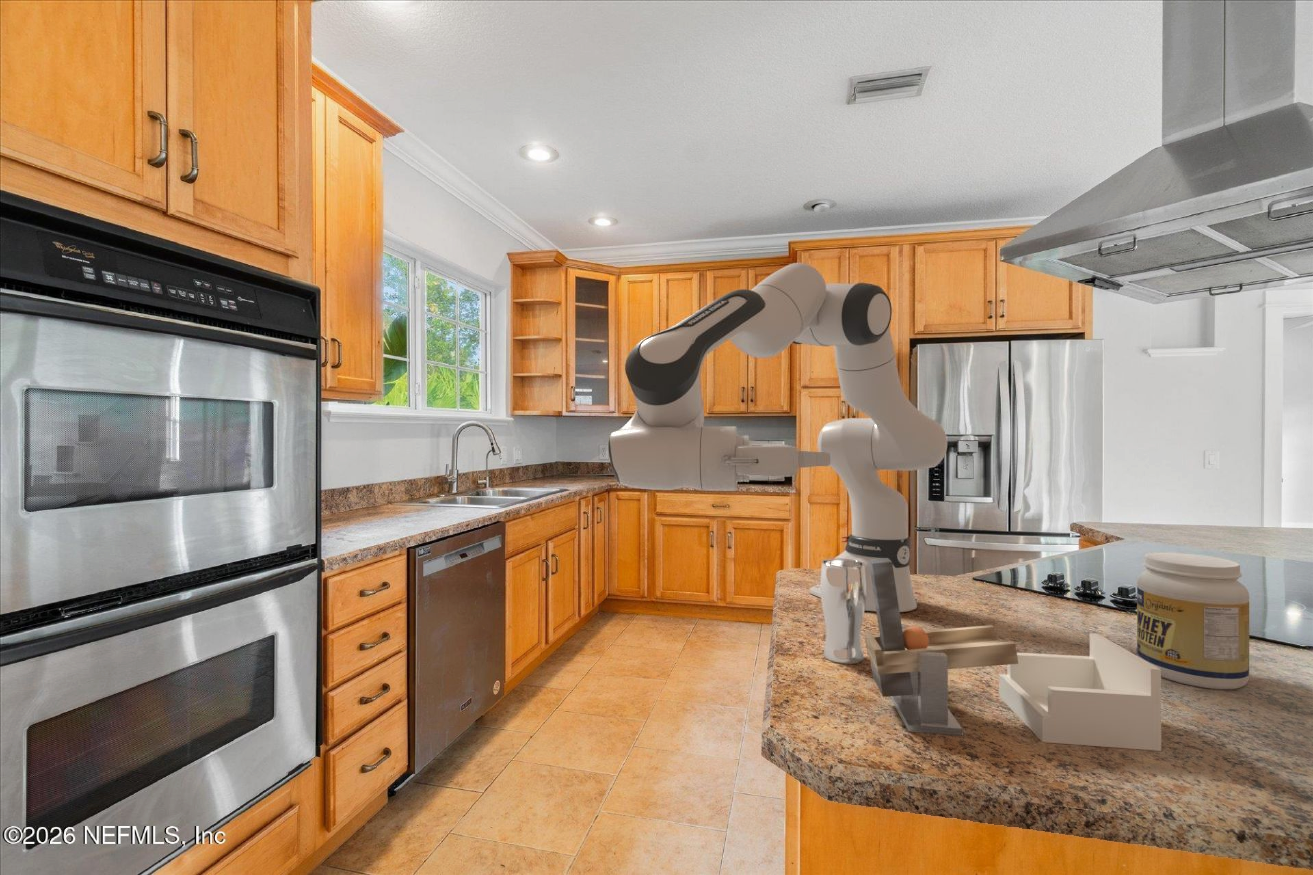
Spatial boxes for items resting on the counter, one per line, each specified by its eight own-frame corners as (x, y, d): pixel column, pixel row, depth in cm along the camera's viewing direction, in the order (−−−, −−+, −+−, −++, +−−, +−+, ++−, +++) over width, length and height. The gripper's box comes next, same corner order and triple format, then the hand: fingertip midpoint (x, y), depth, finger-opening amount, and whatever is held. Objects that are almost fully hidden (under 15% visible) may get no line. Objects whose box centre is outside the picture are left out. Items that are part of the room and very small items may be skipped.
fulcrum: (908, 731, 69) (907, 655, 69) (886, 689, 81) (885, 624, 81) (962, 735, 68) (962, 658, 68) (932, 692, 80) (932, 626, 80)
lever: (882, 700, 72) (863, 569, 72) (870, 674, 79) (852, 556, 80) (1024, 690, 69) (1003, 555, 69) (996, 664, 77) (977, 543, 77)
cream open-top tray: (1042, 741, 67) (1042, 662, 67) (999, 696, 79) (998, 629, 79) (1161, 750, 65) (1160, 669, 65) (1098, 702, 77) (1098, 633, 77)
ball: (900, 654, 75) (893, 630, 75) (915, 645, 77) (908, 621, 77) (921, 658, 73) (914, 633, 73) (937, 648, 74) (930, 623, 74)
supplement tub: (1117, 657, 93) (1117, 549, 93) (1201, 660, 91) (1200, 551, 91) (1178, 690, 80) (1177, 566, 80) (1276, 694, 79) (1275, 568, 79)
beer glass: (834, 645, 98) (833, 556, 98) (874, 656, 93) (874, 562, 93) (812, 656, 93) (811, 562, 93) (853, 669, 88) (853, 569, 88)
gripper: (720, 434, 70) (839, 434, 68) (727, 435, 90) (820, 435, 88) (720, 487, 70) (840, 489, 68) (727, 476, 90) (820, 477, 88)
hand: (828, 458), depth 78 cm, fingers closed
